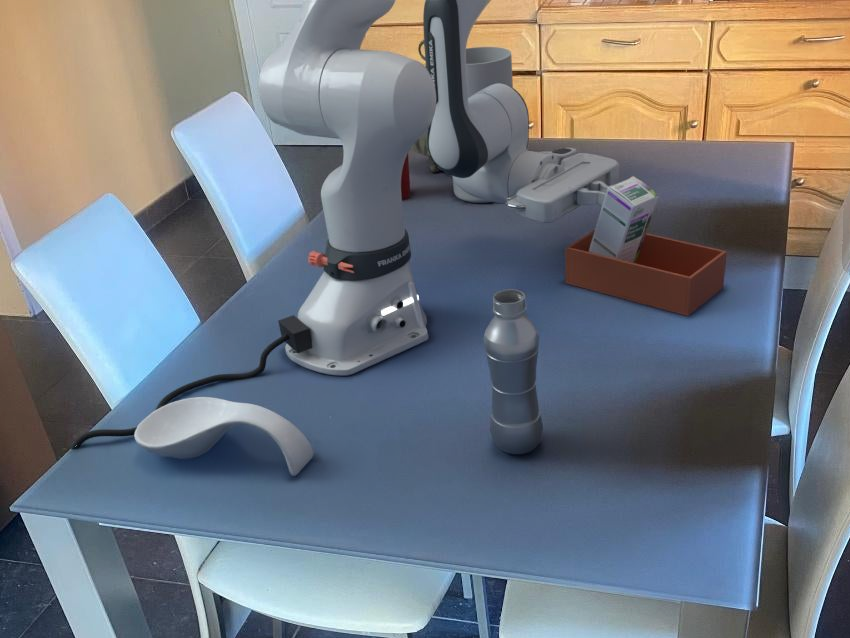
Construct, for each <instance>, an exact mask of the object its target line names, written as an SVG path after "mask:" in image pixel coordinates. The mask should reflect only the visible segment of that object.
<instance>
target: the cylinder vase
mask: <svg viewBox="0 0 850 638" xmlns="http://www.w3.org/2000/svg"><path fill="white" fill-rule="evenodd" d="M466 71H467V91H468V98H469V97H471V96H472V95H474V94H475V93H477V92H479V91H481V90H482V89H484V88H486V87H488V86H490V85H492V84H494V83H504V84H507V85H509V86H511V87H512V88H514V84H513V83H514V82H513V61H512V51H511V50H510V49H508V48H505V47H500V46H475V47H466ZM452 185H453V193H454V195H455V196H456V198H457V199H459V200H462V201H464V202H468V203H475V204H488V203H493V202H492V201H488V200H484V199H480V198H477V197H475V196H472V195H470V194H468V193H466V192H465V191H463V190H462V189H461V188H459V187H458V186H457V184H456V183H455V181H454V179H453V178H452Z"/></svg>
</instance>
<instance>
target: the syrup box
mask: <svg viewBox="0 0 850 638" xmlns="http://www.w3.org/2000/svg"><path fill="white" fill-rule="evenodd" d="M659 197H660V196H659V194H658V193H657V192H656V191H654V189H652V187H650V186H649V185H648V184H646V183H645V182H643V181H642V180H640V179H639V178H637V177H635V176H634V175H632V176H631V177H629V178H627V179H624V180H621V181H619V182H618V183H616V184H614V185H612V186H609V187H608V188H607V191H606V195H605V198H604V201H603V205H601V209H600V212H599V215H598V218H597V221H596V224H595V228H594V230H595V231H594V235H593V238H592V241H591V245H590V248H589V252H591V253H595V254H599V255H603V256H607V257H611V258H615V259H619V260H623V261H627V262H632V263H636V260H637V257H638V254H639V252H640V249H641V246H642V243H643V240H644V237H645V235H646V233H647V232H648V229H649V226H650V223H651V220H652V217H653V215H654V212H655V209H656V206H657V204H658V201H659Z"/></svg>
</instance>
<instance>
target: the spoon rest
mask: <svg viewBox="0 0 850 638" xmlns="http://www.w3.org/2000/svg"><path fill="white" fill-rule="evenodd" d="M239 425H243V426H244V425H245V426H249V427H253V428H255V429H258V430H260V431H261V432H263V433H265V434H267V435H268V436H270V438H272V439H273V441H275V443H277V445H278V446H279V448H280V450H281V452H282V454H283V456H284V458H285V461H286V464H287V467H288V471H289V473H290V475H291V476H293V477H295V476H297V475H298V474H299V473H300V472H301V471H302V470H303V469H304V468H305V467H306V466H307V464H309V462H310V461H311V460H312V458H313V457H314V450H313V449H312V448H313V447H312V446H311V443H310V441H309V440H308V439H307V437H306V436H305V435H304V434H303V433H302V431H301V430H300V429H299V428H297V426H295V425H294V424H293V423H292V422H291V421H289V420H288V419H286V418H284V417H283V416H282V415H280V414H279V413H276V412H275V411H273V410H271V409H268V408H266V407H265V406H264V407H263V406H260V405H258V404H254V403H248V402H247V403H246V402H239V401H231V400H227V399H223V398H218V397H212V396H210V397H209V396H195V397H188V398H183V399H179V400H175V401H172V402H169V403H168V404H167V405H165V406H163V407H161V408H159V409H157V410H156V409H155V410H154V411H152V412H150V414H148V415H146V417H145V418H144V419H143V420H141V421H140V422H139V424H138V425H137V426H136V427H137V428H136V427H135V428H136V431H135V434H134V435H133V436H134V437H133V438H134V440H135V442H136V443H137V444H138V445H139V447H141V448H142V449H144V450H146V451H147V452H149V453H151V454H153V455H157V456H160V457H165V458H175V459H181V460H188V459H195V458H197V457H200V456H202V455H204V454H206V453H207V452H209V451H210V450H211V449H212V448H213V447H214V446H215V445H216V444H217V443H218V442H219V441H220V440H221V439H222V437H224V435H225V434H226V433H227V432H228V431H229V430H230V429H231V428H232V427H235V426H239Z"/></svg>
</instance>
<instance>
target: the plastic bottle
mask: <svg viewBox="0 0 850 638" xmlns="http://www.w3.org/2000/svg"><path fill="white" fill-rule="evenodd" d="M526 301H527V300H526V294H525V293H524V292H523V291H521V290H519V289H514V288H513V289H512V288H508V289H507V288H506V289H502V290H499V291H496V293H494V294H493V296H492V305H493V306H492V314H493V315H494V316H493V318H492V319H491V321H490V322H489V323H488V326H487V327H486V329H485V331H484V334H483V348H484V353H485V356H486V361H487V364H488V369H489V376H490V382H491V413H490V422H489V423H490V424H489V431H490V435H491V439H492V443H494V445H495V446H496V447H497V448H498V449H499V450H500V451H501V452H503V453H506V454H511V455H523V454H527V453H530V452H532V451H534V450H535V449H536V448H537V447H538V445H539V444H540V443H541V442H542V438H543V433H544V432H543V431H544V423H543V418H542V413H541V412H540V406H539V399H538V391H537V366H538V358H539V357H538V356H539V347H540V336H539V332H538V330H537V328H536V326H535V325H534V323H533V322H532V321H531V319H529V318H528V316H527V315H526V314H527V312H528V308H527V304H526V303H527V302H526Z"/></svg>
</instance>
